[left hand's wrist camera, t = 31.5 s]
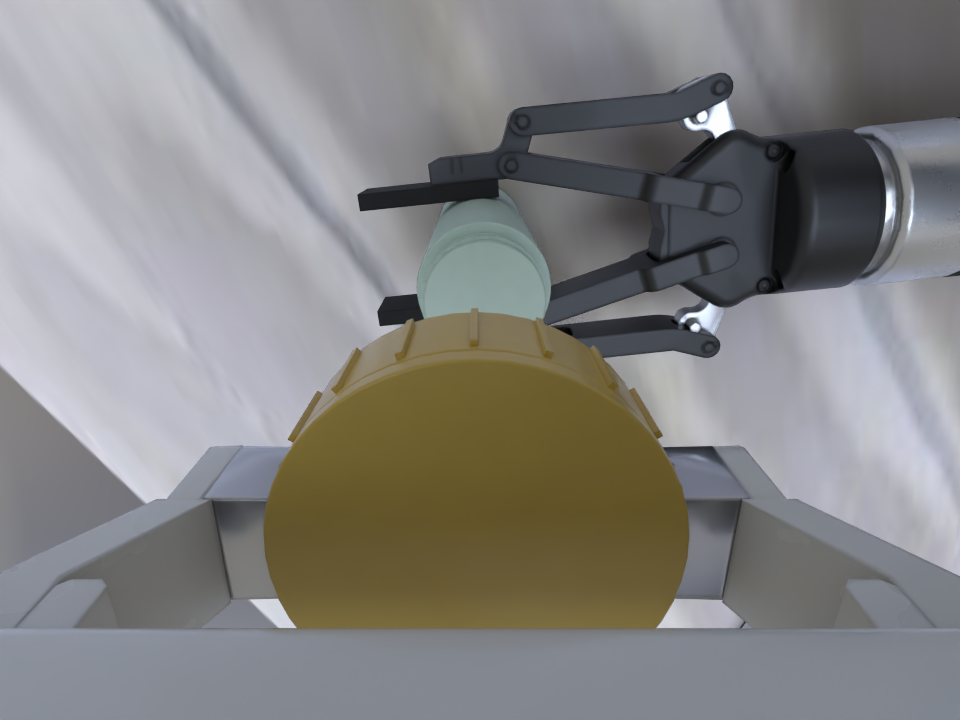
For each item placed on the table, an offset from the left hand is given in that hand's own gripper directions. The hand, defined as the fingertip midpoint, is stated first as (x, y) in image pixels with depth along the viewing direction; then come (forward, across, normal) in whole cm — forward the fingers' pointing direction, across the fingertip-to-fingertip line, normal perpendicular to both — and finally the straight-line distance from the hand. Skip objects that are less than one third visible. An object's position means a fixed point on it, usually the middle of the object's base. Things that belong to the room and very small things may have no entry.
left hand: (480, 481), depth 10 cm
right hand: (+21, -5, -1) cm, 22 cm away
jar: (+28, 0, 0) cm, 28 cm away
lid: (-2, 0, 0) cm, 2 cm away
